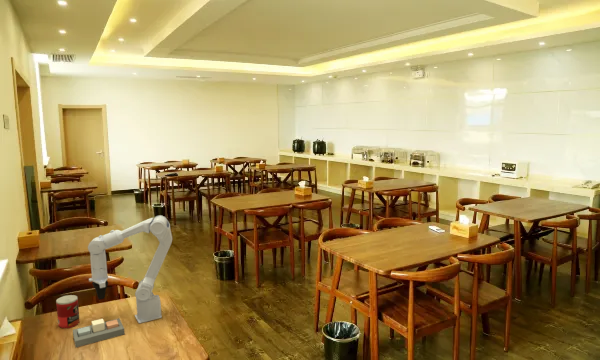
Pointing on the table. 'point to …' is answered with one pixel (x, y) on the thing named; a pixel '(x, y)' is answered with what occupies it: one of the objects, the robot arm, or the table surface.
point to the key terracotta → (112, 324)
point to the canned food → (67, 311)
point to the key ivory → (98, 325)
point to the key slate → (84, 331)
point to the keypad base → (98, 334)
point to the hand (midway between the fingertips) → (101, 298)
